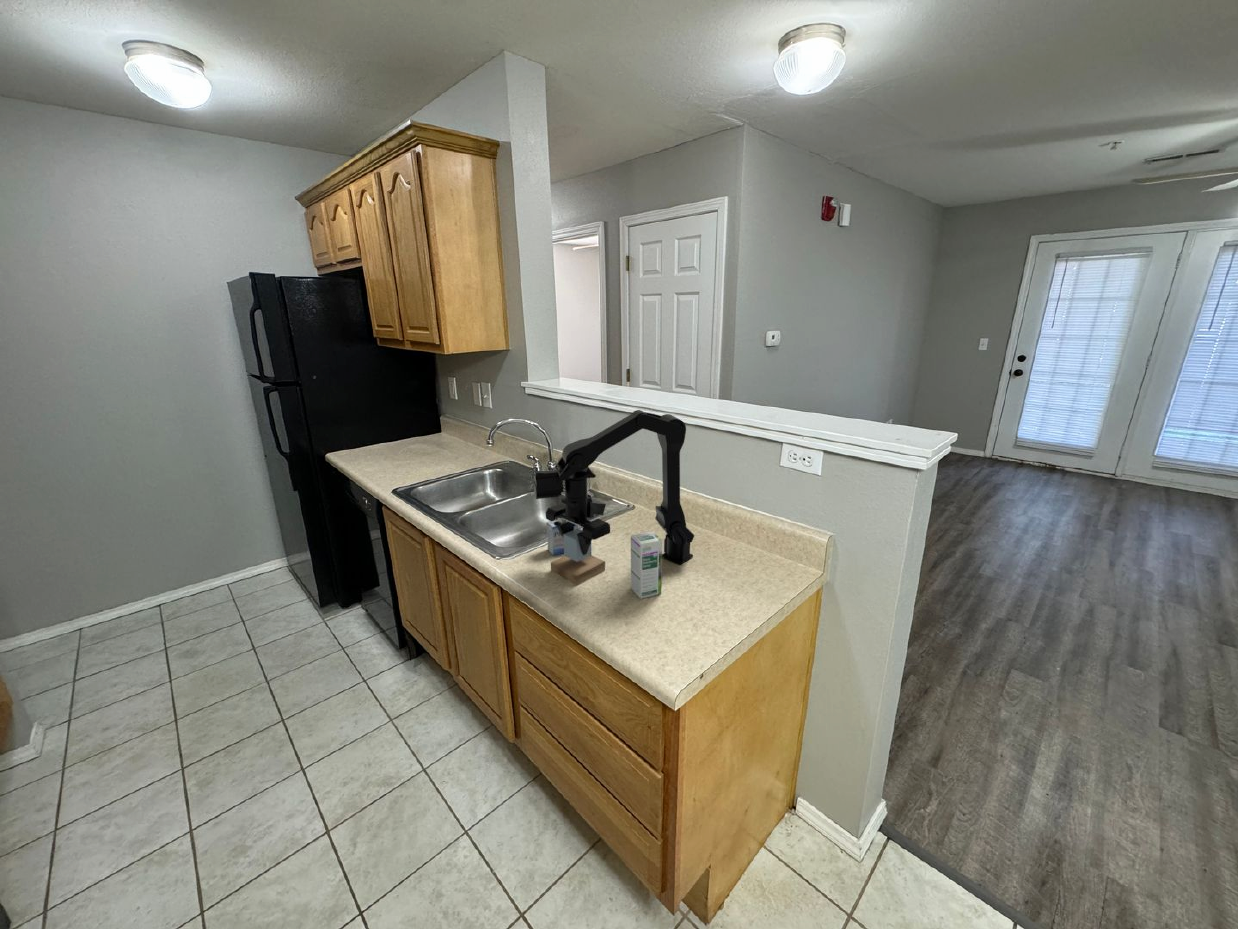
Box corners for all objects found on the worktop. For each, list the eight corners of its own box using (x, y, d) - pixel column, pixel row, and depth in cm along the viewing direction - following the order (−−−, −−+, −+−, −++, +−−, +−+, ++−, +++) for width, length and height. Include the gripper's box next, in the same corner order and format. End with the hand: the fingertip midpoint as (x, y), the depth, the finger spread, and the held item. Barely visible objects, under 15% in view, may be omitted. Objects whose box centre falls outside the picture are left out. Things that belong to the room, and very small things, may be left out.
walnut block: (605, 571, 132) (605, 561, 131) (577, 586, 125) (576, 575, 124) (579, 559, 138) (578, 549, 137) (551, 572, 131) (550, 562, 130)
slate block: (591, 555, 130) (591, 534, 128) (577, 562, 127) (576, 540, 125) (578, 549, 133) (578, 528, 132) (564, 555, 130) (563, 534, 128)
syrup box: (640, 599, 119) (641, 544, 114) (629, 587, 124) (630, 533, 119) (661, 594, 121) (663, 539, 116) (650, 582, 126) (651, 529, 122)
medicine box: (552, 556, 139) (551, 527, 136) (547, 549, 143) (546, 521, 140) (579, 549, 143) (578, 521, 140) (573, 543, 146) (572, 516, 144)
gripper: (625, 495, 124) (625, 552, 129) (575, 478, 137) (577, 530, 141) (593, 508, 117) (593, 567, 121) (543, 488, 129) (545, 543, 134)
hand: (577, 551), depth 130 cm, fingers closed on slate block, 5 cm apart
